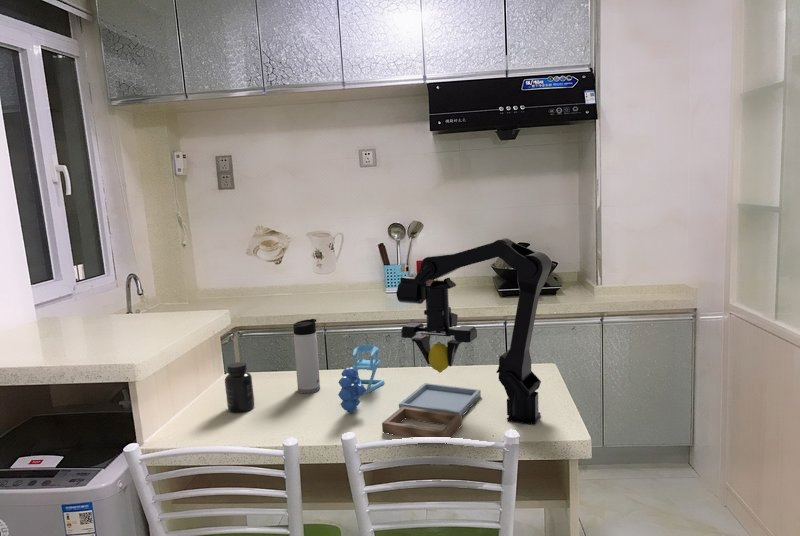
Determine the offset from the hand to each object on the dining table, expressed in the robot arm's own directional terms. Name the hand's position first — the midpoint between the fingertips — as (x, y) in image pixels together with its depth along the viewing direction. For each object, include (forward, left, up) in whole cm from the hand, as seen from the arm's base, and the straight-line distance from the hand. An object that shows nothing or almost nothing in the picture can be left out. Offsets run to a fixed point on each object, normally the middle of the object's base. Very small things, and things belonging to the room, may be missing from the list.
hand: (439, 364), depth 143 cm
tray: (0, 0, -10) cm, 10 cm away
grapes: (+18, +13, -11) cm, 25 cm away
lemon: (0, 0, -2) cm, 2 cm away
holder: (-2, +16, -10) cm, 19 cm away
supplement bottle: (+48, +21, -11) cm, 54 cm away
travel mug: (+39, +3, -11) cm, 41 cm away
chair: (+24, -4, -11) cm, 27 cm away
